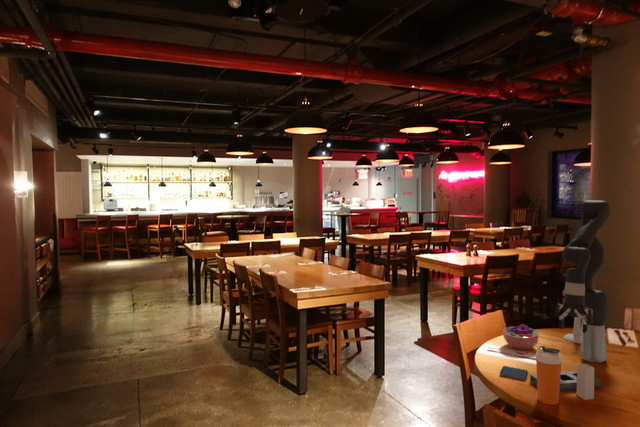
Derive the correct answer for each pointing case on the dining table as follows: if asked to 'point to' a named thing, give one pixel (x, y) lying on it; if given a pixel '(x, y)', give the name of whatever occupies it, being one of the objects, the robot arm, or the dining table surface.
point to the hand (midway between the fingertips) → (572, 330)
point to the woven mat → (514, 373)
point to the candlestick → (575, 332)
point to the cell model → (521, 336)
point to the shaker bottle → (548, 375)
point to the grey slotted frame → (567, 381)
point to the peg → (585, 381)
